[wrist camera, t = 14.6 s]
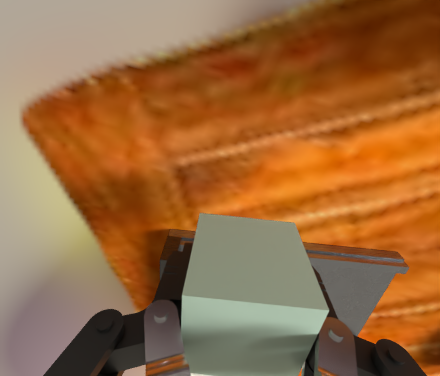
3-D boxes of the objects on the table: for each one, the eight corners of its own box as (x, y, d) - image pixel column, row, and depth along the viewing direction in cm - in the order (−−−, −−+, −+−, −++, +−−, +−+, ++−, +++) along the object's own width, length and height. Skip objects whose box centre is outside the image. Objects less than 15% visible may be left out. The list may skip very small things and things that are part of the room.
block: (199, 213, 12) (182, 295, 8) (294, 222, 12) (329, 310, 8) (195, 279, 15) (180, 372, 10) (275, 287, 15) (293, 383, 10)
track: (170, 229, 22) (159, 259, 19) (397, 252, 23) (429, 285, 19) (168, 317, 28) (160, 353, 24) (349, 333, 29) (367, 371, 25)
